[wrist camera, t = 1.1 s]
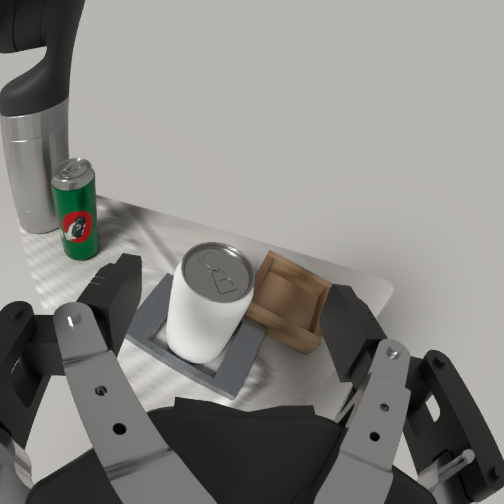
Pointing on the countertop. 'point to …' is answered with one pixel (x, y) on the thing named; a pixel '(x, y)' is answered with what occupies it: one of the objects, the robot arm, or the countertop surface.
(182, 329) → the can
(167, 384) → the countertop surface
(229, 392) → the gray rectangular tray
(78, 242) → the soda can
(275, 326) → the open wooden box
